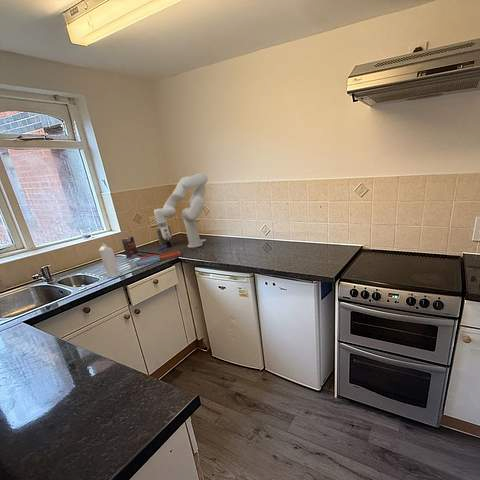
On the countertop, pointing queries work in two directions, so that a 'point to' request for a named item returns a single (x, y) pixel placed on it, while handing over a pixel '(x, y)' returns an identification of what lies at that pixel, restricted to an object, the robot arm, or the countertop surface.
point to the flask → (161, 239)
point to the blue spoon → (164, 247)
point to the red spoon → (147, 256)
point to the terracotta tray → (169, 255)
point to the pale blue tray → (148, 260)
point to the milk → (109, 261)
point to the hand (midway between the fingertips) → (169, 246)
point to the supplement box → (130, 247)
